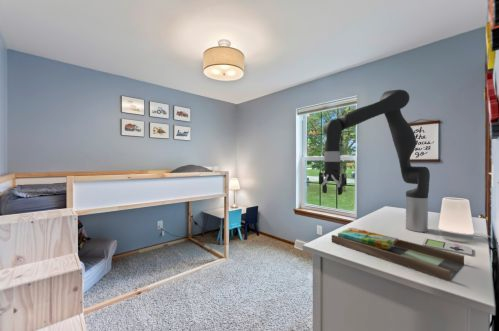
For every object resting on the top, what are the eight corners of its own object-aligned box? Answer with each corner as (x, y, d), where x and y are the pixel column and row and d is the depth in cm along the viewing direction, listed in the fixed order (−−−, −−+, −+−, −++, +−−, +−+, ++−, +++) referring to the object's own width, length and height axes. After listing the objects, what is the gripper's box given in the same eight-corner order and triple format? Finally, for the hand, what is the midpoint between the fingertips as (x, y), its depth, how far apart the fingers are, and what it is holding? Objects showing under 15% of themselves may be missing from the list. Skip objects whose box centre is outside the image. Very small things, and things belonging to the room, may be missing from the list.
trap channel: (353, 233, 109) (353, 227, 109) (464, 264, 77) (464, 255, 76) (331, 242, 98) (331, 235, 98) (449, 281, 66) (449, 271, 66)
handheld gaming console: (472, 253, 83) (421, 243, 93) (471, 257, 83) (421, 246, 93) (471, 246, 90) (425, 237, 100) (471, 249, 90) (425, 240, 100)
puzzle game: (349, 226, 106) (397, 236, 91) (349, 235, 106) (397, 247, 91) (337, 231, 98) (388, 243, 83) (337, 241, 98) (388, 255, 83)
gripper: (350, 160, 104) (350, 195, 104) (324, 161, 116) (324, 191, 116) (341, 160, 100) (341, 196, 100) (315, 161, 111) (315, 192, 112)
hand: (332, 193), depth 108 cm, fingers open, 7 cm apart
